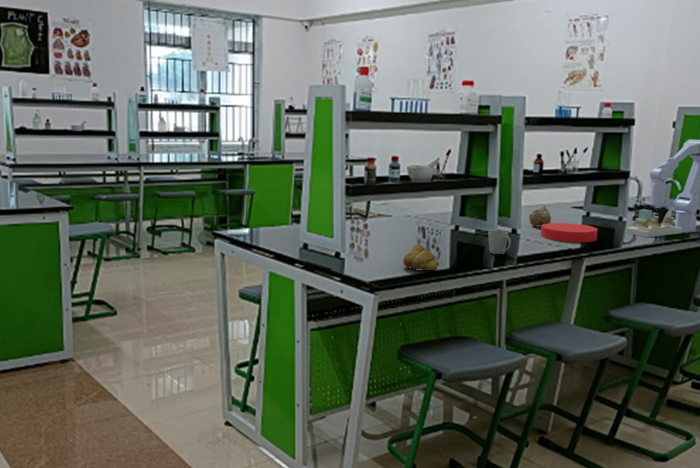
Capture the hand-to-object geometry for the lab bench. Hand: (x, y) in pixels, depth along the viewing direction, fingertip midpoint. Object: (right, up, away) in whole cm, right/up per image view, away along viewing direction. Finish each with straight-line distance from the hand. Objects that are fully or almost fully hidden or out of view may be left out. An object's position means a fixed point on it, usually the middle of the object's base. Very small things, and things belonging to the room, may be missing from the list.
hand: (654, 222), depth 314 cm
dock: (0, -5, +1) cm, 5 cm away
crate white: (+6, +3, +4) cm, 8 cm away
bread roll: (-120, -18, -82) cm, 146 cm away
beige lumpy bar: (0, -2, 0) cm, 2 cm away
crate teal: (-6, +2, -4) cm, 8 cm away
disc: (-46, -8, -14) cm, 48 cm away
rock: (-51, -2, +13) cm, 53 cm away
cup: (-86, -14, -54) cm, 102 cm away
